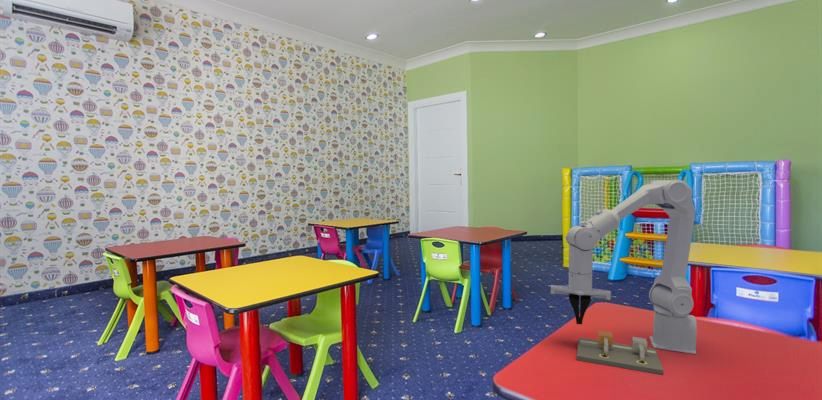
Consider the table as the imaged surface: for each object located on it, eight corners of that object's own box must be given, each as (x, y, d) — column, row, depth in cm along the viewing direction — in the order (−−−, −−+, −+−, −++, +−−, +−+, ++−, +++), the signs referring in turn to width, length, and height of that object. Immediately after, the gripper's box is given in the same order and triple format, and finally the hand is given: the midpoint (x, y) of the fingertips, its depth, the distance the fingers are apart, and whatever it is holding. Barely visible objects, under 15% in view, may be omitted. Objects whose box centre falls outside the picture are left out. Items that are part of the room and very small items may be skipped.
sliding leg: (611, 344, 105) (611, 332, 105) (612, 356, 98) (613, 343, 98) (598, 342, 107) (598, 330, 106) (599, 354, 99) (599, 341, 99)
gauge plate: (655, 352, 104) (655, 345, 104) (663, 374, 92) (663, 366, 92) (578, 341, 111) (578, 334, 111) (576, 359, 99) (576, 352, 99)
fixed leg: (645, 350, 102) (645, 338, 102) (649, 363, 95) (650, 350, 95) (631, 348, 104) (632, 336, 103) (634, 360, 96) (635, 348, 96)
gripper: (550, 272, 107) (549, 324, 108) (611, 278, 102) (610, 332, 102) (552, 267, 114) (551, 315, 114) (610, 272, 108) (609, 323, 109)
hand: (579, 323), depth 109 cm, fingers closed
